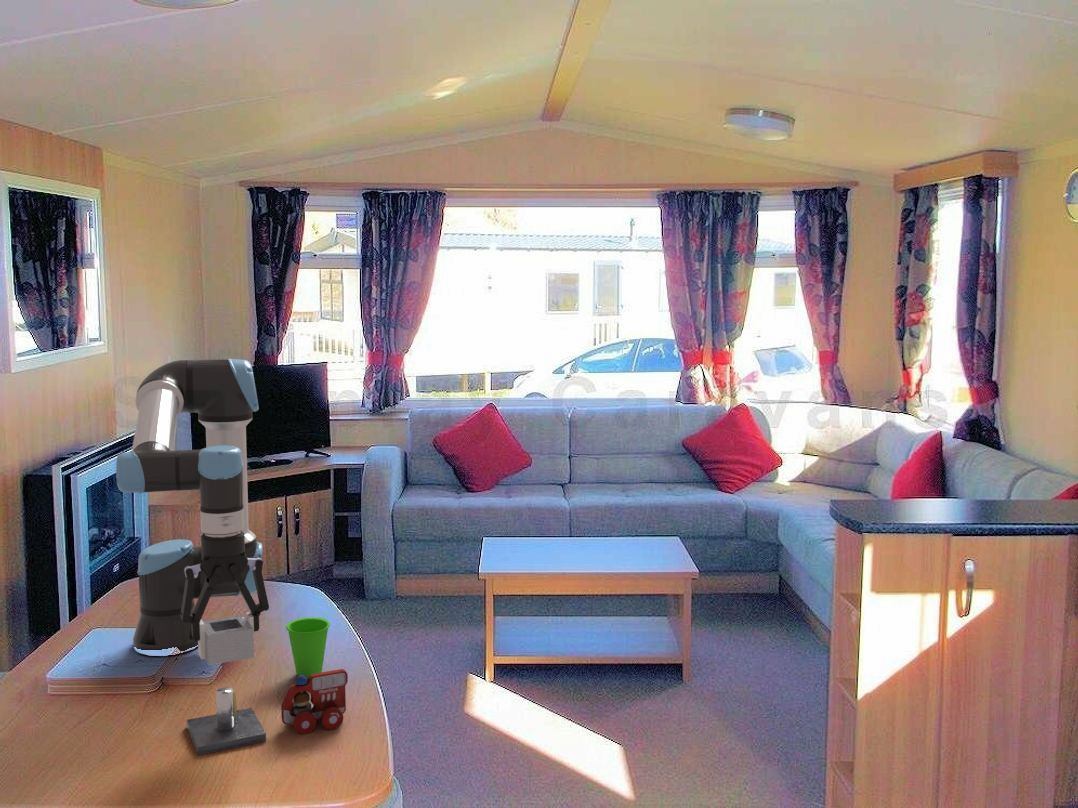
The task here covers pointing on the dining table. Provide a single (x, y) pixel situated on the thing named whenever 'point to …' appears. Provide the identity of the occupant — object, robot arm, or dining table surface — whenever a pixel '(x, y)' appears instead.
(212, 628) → the grey block with hole
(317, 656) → the cup
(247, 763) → the dining table surface
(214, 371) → the robot arm
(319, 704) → the toy fire truck
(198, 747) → the shaft stand
